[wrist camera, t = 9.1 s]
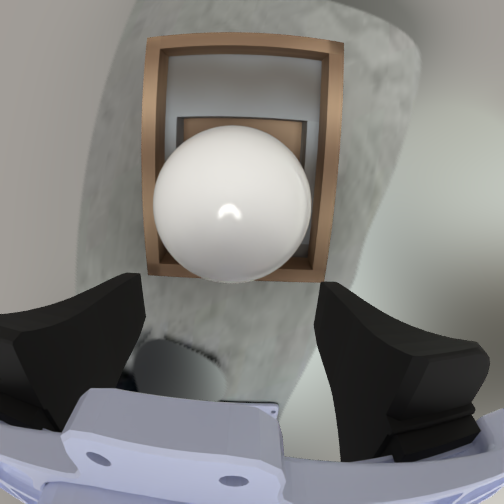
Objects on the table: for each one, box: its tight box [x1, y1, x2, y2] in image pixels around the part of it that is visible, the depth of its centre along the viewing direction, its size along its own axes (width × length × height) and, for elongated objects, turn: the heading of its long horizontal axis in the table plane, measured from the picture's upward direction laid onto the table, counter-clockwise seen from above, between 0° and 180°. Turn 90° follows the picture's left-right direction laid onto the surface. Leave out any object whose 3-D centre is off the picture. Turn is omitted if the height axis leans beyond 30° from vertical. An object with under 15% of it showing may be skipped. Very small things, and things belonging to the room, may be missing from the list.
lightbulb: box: [153, 125, 312, 283], centre depth 14 cm, size 6×6×11 cm
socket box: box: [141, 32, 344, 283], centre depth 17 cm, size 14×11×4 cm
